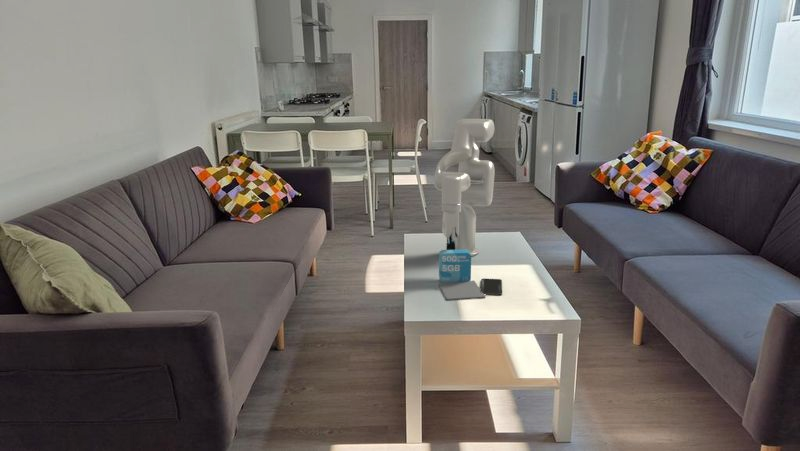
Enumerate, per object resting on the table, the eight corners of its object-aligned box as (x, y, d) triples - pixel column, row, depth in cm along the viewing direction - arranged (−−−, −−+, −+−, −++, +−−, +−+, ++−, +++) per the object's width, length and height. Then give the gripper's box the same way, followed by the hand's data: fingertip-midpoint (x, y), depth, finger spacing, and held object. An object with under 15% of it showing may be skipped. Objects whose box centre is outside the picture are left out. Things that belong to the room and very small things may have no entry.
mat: (438, 284, 208) (438, 282, 208) (474, 282, 210) (474, 280, 210) (446, 300, 193) (446, 298, 193) (485, 298, 195) (485, 296, 195)
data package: (439, 283, 210) (439, 253, 207) (438, 278, 214) (438, 249, 211) (470, 282, 210) (471, 252, 207) (469, 278, 214) (469, 249, 211)
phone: (480, 292, 198) (481, 278, 212) (480, 295, 198) (481, 281, 212) (502, 293, 196) (502, 279, 211) (502, 296, 197) (502, 281, 211)
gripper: (438, 203, 219) (438, 247, 223) (445, 212, 204) (445, 258, 209) (456, 203, 220) (456, 246, 224) (465, 211, 205) (464, 257, 210)
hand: (450, 252), depth 217 cm, fingers closed
